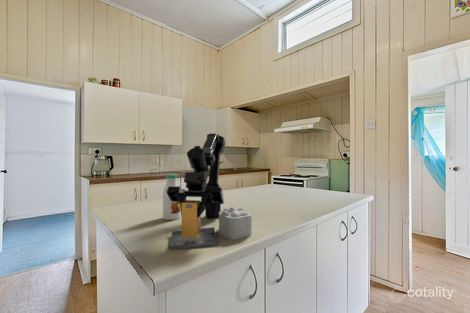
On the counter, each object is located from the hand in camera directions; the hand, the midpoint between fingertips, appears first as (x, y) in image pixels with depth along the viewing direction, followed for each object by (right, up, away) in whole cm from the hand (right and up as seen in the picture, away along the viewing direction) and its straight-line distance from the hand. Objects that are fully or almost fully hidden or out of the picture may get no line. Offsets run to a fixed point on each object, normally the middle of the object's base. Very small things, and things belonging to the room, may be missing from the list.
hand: (189, 216), depth 70 cm
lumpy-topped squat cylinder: (+14, -9, +12) cm, 20 cm away
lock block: (0, -7, +1) cm, 7 cm away
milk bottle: (-15, -9, +31) cm, 36 cm away
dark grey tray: (+1, -9, +4) cm, 10 cm away
